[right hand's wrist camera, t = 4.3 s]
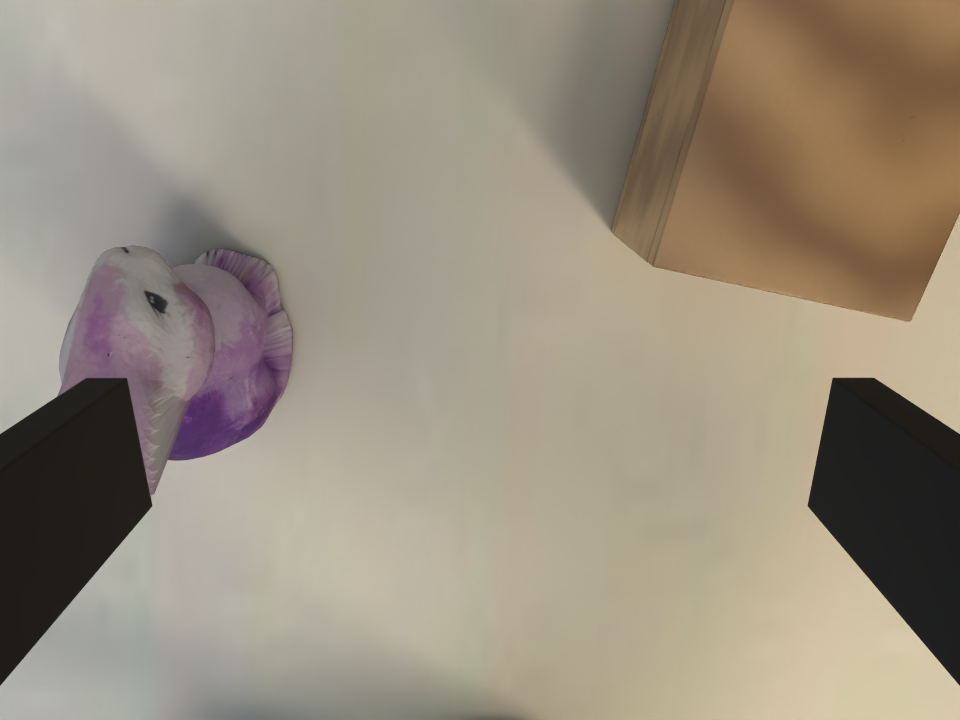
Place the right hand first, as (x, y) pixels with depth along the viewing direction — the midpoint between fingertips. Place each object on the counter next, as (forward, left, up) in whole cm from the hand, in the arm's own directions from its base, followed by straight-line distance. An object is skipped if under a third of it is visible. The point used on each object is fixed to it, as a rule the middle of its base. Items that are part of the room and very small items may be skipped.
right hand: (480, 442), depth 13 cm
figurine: (+5, +14, -23) cm, 27 cm away
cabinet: (-2, -16, -23) cm, 28 cm away
